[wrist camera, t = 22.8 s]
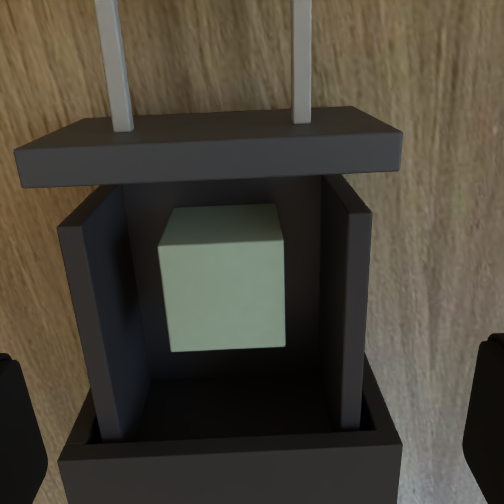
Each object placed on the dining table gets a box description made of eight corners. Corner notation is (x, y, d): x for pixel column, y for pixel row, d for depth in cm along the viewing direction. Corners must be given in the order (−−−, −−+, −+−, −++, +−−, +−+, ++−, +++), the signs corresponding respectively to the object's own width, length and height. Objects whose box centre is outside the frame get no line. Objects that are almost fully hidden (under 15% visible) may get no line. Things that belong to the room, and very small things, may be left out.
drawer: (54, -45, 18) (-47, -96, 12) (359, -59, 18) (423, -117, 12) (128, 380, 25) (91, 488, 19) (343, 369, 25) (376, 474, 19)
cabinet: (113, 332, 25) (56, 461, 17) (352, 321, 25) (403, 444, 17) (148, 525, 31) (117, 689, 23) (343, 515, 31) (378, 675, 23)
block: (275, 202, 21) (283, 240, 17) (277, 293, 22) (285, 347, 18) (173, 207, 21) (156, 245, 17) (183, 297, 22) (170, 353, 18)
